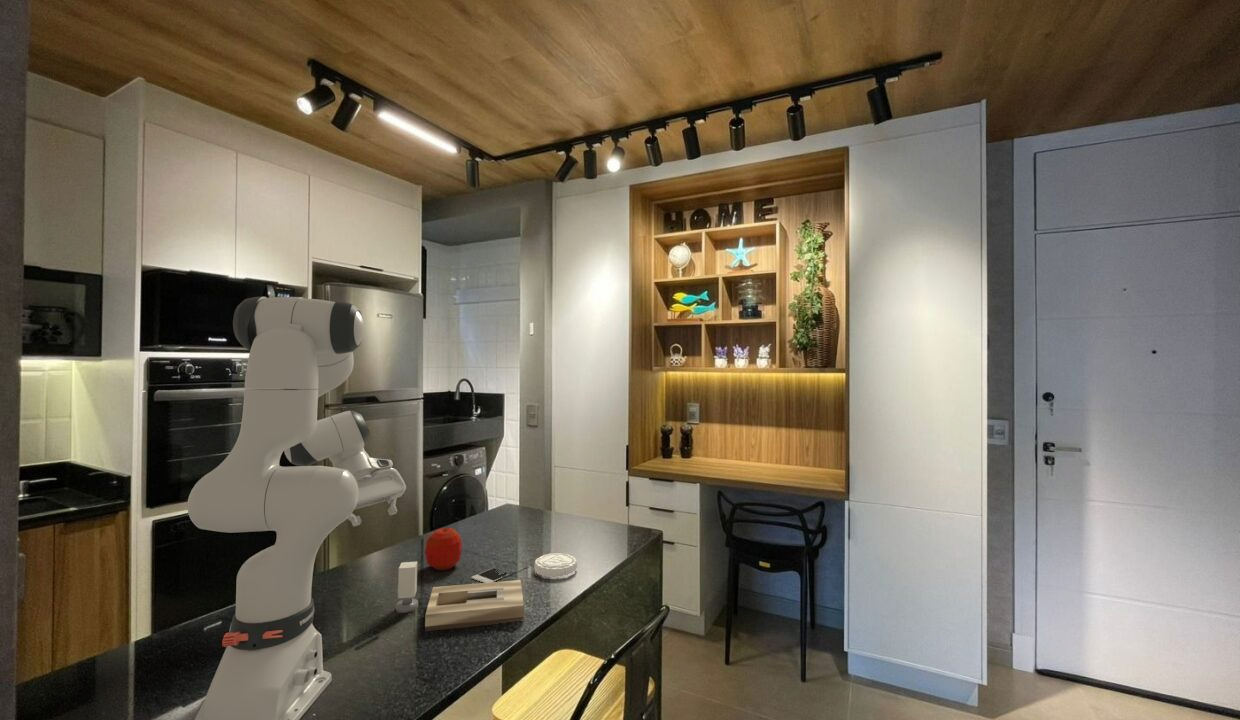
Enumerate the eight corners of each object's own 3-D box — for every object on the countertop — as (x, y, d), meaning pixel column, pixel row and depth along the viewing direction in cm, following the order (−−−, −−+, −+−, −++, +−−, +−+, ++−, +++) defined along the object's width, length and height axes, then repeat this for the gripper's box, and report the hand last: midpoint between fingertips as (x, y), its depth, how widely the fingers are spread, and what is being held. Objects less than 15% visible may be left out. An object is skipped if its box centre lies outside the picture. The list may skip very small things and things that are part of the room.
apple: (443, 558, 151) (444, 519, 151) (469, 564, 146) (470, 524, 147) (416, 570, 142) (417, 528, 142) (443, 577, 137) (444, 534, 138)
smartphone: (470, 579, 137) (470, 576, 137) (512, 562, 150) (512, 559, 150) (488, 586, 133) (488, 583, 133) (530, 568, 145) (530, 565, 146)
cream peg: (416, 611, 118) (417, 568, 118) (394, 613, 116) (395, 569, 117) (419, 602, 122) (420, 560, 122) (398, 604, 121) (399, 561, 121)
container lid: (558, 584, 135) (558, 571, 135) (525, 573, 141) (525, 561, 141) (585, 569, 145) (585, 557, 145) (553, 560, 151) (553, 548, 151)
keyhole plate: (523, 621, 114) (523, 605, 114) (424, 631, 109) (425, 614, 109) (520, 594, 128) (520, 579, 128) (432, 602, 123) (433, 587, 123)
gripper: (318, 475, 122) (338, 524, 117) (396, 458, 139) (417, 501, 134) (309, 489, 125) (329, 538, 120) (387, 471, 141) (407, 513, 137)
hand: (376, 518), depth 127 cm, fingers open, 8 cm apart
